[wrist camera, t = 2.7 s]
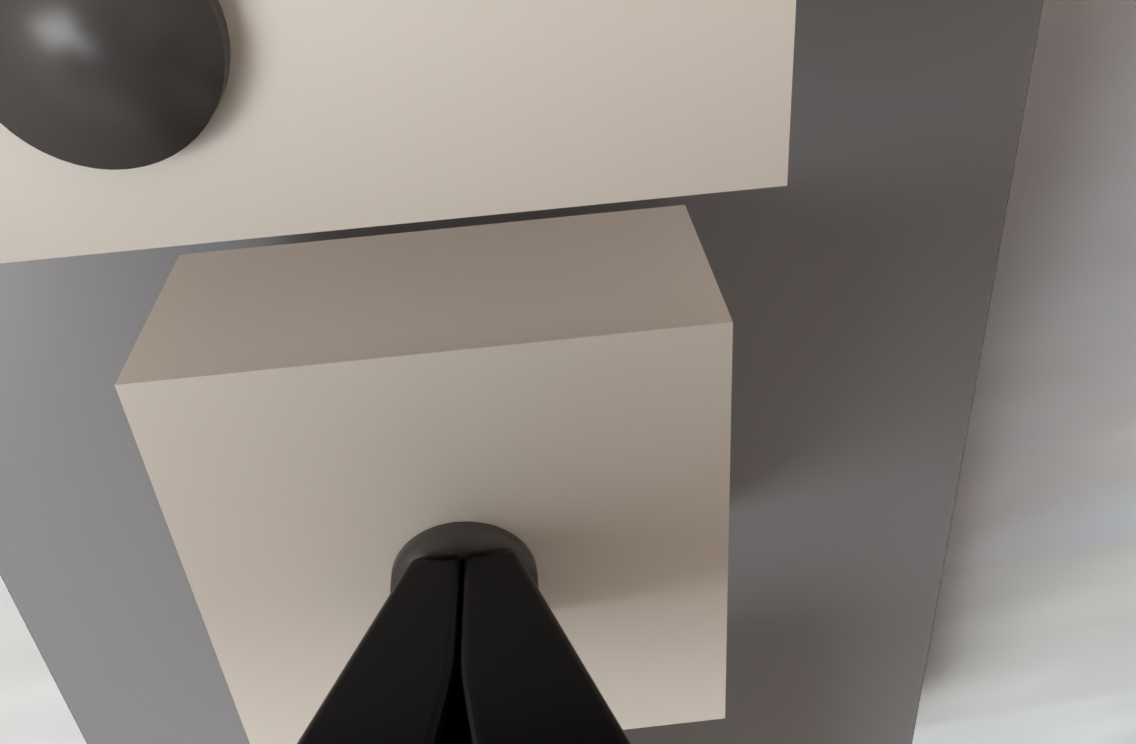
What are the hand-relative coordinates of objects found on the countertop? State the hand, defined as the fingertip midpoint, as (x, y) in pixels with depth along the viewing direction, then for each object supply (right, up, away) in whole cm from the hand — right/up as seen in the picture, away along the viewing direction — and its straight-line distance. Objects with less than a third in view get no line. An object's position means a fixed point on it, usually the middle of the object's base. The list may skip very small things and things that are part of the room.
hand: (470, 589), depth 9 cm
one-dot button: (0, +1, +2) cm, 2 cm away
